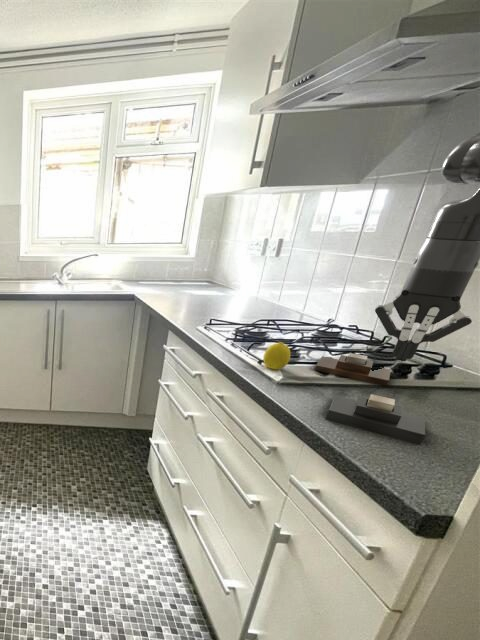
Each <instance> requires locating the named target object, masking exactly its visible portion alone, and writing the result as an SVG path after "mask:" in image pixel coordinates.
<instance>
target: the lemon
mask: <svg viewBox="0 0 480 640" xmlns="http://www.w3.org/2000/svg"><path fill="white" fill-rule="evenodd" d="M290 359H291V349H290V347H289V346H288V345H286V344H285V343H284V342H282V341H280V342H276V343H273V344H271V345H269V346H268V347H267V349H266V350H265V352H264V354H263V363H264V366H265V367H267V368H268V369H271V370H281V369H283V368H285V367H286V366H287V365H288V363H289V362H290Z"/></svg>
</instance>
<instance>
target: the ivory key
mask: <svg viewBox="0 0 480 640" xmlns="http://www.w3.org/2000/svg"><path fill="white" fill-rule="evenodd" d="M368 398H369V400H368V403H367V406H370V407H374V408H378V409H382V410H386V411H390V412H392V409H393V407H394V404H396V399H394V398H389V397H385V396H382V395H377V394H372V393H371V394H370V395H369V397H368Z"/></svg>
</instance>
